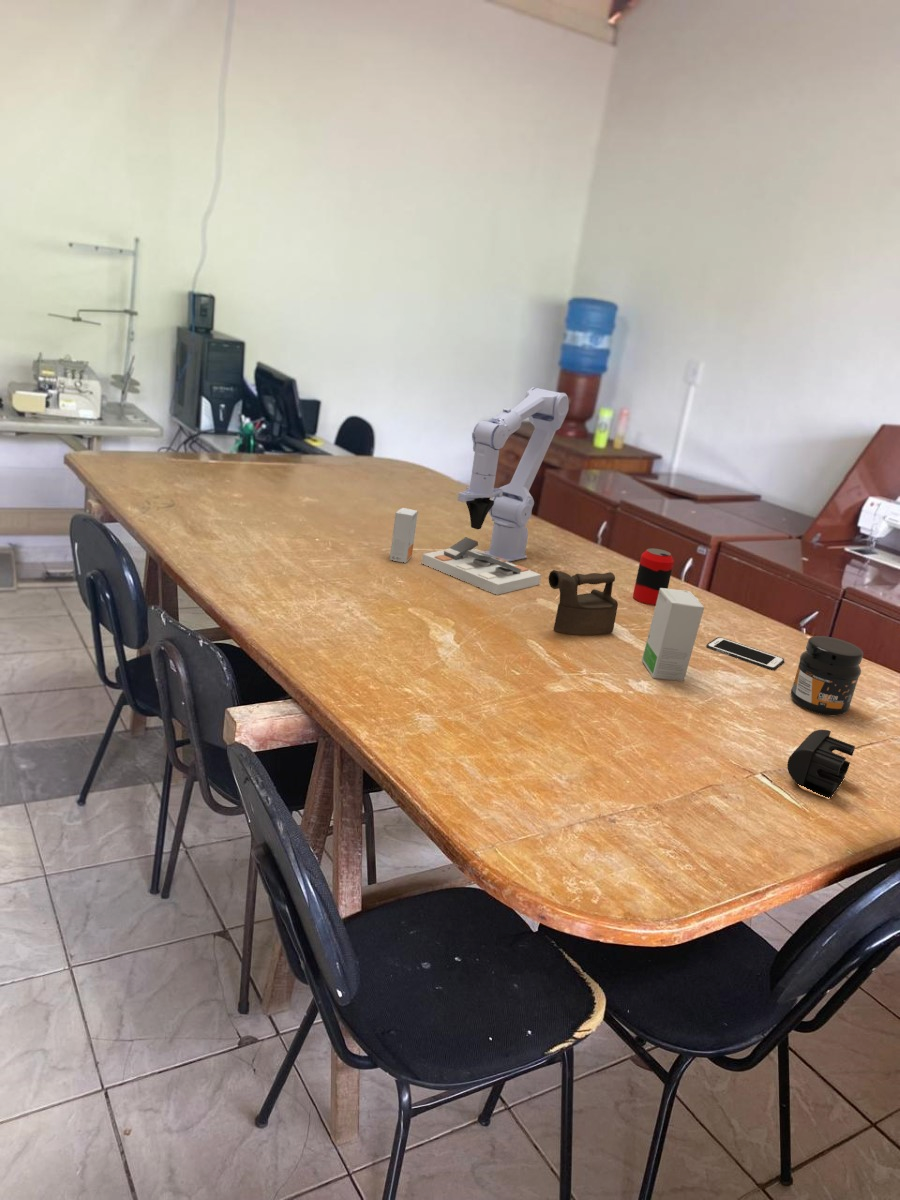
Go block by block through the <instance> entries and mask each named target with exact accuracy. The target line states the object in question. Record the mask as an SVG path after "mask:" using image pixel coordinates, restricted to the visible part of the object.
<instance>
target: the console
mask: <svg viewBox="0 0 900 1200" xmlns="http://www.w3.org/2000/svg"><path fill="white" fill-rule="evenodd" d="M445 550H446V549H443V550H437V551H431V552H427V553H426V552H425V553H422V556H421V563H422V564H421V565H423V564H424V566H426V567H428V566H429V567H428V568H430V567H432V568H431V569H433V568H434V569H433V570H435V569H436V570H435V571H438V570H439V571H438V572H440V571H441V572H440V573H442V572H443V573H442V574H445V573H446V574H445V575H447V574H448V575H447V576H450V575H451V577H452V576H453V577H452V578H454V577H456V578H455V579H457V578H458V579H457V580H459V579H460V580H459V581H462V580H463V581H462V582H464V581H465V582H464V583H466V582H467V584H469V583H470V584H469V585H471V584H472V586H474V587H476V586H477V587H476V588H478V587H480V588H479V589H481V590H483V589H484V590H483V591H485V592H488V591H489V592H488V593H490V592H491V593H490V594H492V595H495V594H496V595H495V596H498V595H501V594H502V595H503V594H507V593H511V592H514V591H518V590H524V589H527V588H531V587H536V586H539V585H540V583H541V577H542V575H541V574H540V573H539V572H535V571H533V570H530V569H529V568H527V567H524V566H522V565H519V564H518V565H517V564H514V563H512V562H510V561H509V562H507V561H506V560H504V559H501V558H499V557H496V558H498V559H499V560H500V561H503V562H506V563H507V564H509V565H511V566H514V567H516V568H519V569H521V572H520V573H517V572H515V571H512V570H510V569H507V568H505V567H502V566H499V565H497V564H494V563H492V562H489V561H485V560H479V559H476V558H473V557H471V556H468V555H466V554H464V555H463V556H461V557H460V558H458V559H457V560H455V559H453V558H450V557H448V556H445V555H444V551H445ZM470 551H474V552H478V553H484V554H486V553H485V552H484V551H482V550H480V549H478V548H473V549H472V550H470ZM488 555H489V554H488ZM493 557H494V556H493Z"/></svg>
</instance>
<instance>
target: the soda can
mask: <svg viewBox="0 0 900 1200" xmlns="http://www.w3.org/2000/svg"><path fill="white" fill-rule="evenodd" d="M674 563H675V560H674V557H673V556H672V553H671V552H669V551H668V550H664V549H660V548H647V549H645V551H644V552H642V553H641V556H640V561H639V564H638V565H639V566H638V569H637V575H636V580H635V584H634V589H633V592H632V597H633V598H634V600H635V599H636V601H637V602H639V603H641V604H645V605H648V604H649V606H656V602H657V598H658V594H659V590H660V588H666V589H669V584H670V580H671V576H672V575H671V574H672V572H673V566H674Z"/></svg>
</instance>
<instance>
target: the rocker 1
mask: <svg viewBox="0 0 900 1200" xmlns="http://www.w3.org/2000/svg"><path fill="white" fill-rule="evenodd" d="M477 546H479V542H478V541H477V540H475V539H473V538H469V537H467V536H465V537H464V538H462V539H461V540H459V541H457V542H456V543H454V544H453V545H452V546H450V547H448V548H447V549H444V550H445V551H444V555H445V556H448V557H450V558H453V559H455V560H457V559H458V558H460V557H461V556H463V555H464V554H466V551H467V550H472V549H476V547H477Z"/></svg>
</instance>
